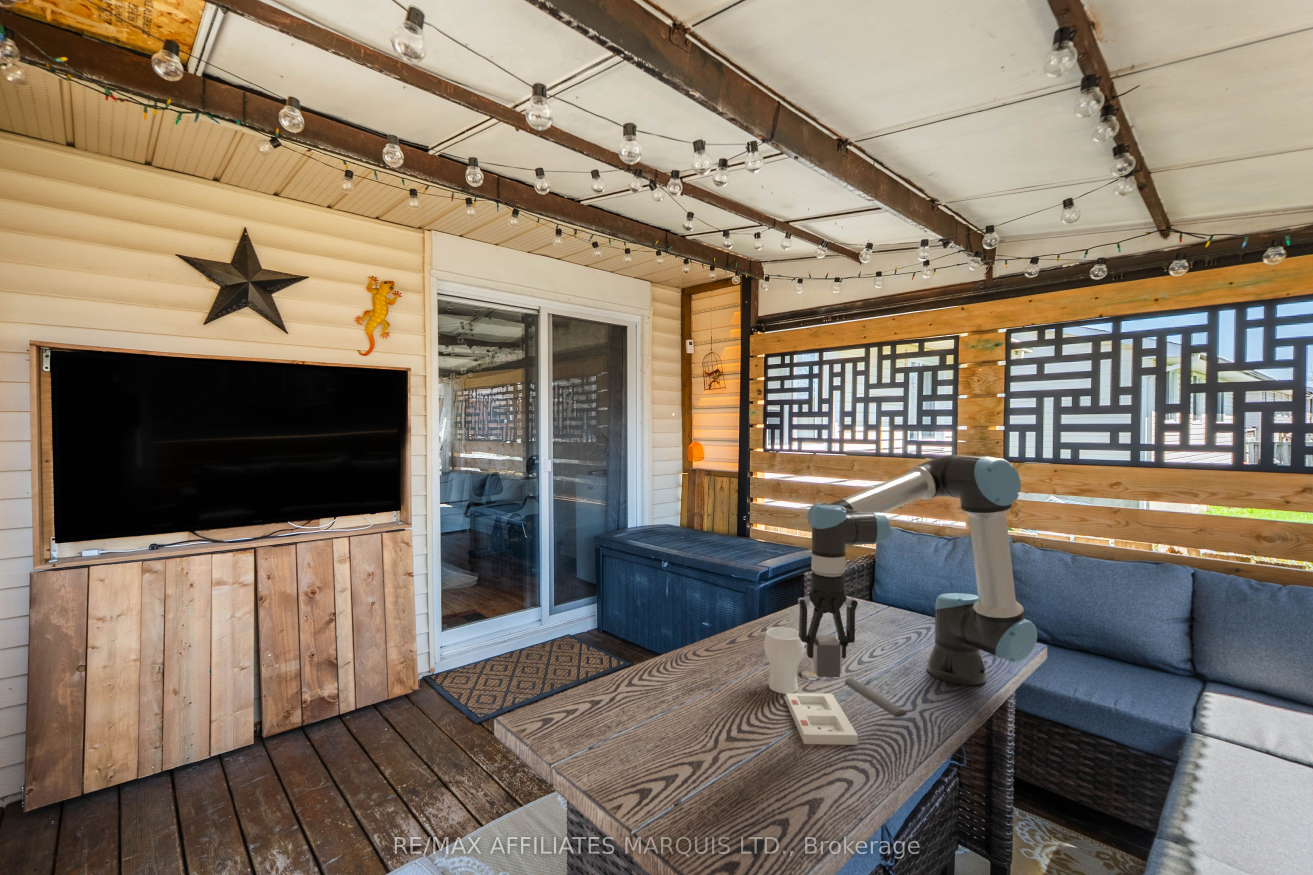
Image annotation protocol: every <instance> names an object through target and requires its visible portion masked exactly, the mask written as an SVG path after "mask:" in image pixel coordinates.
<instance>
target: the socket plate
mask: <svg viewBox="0 0 1313 875" xmlns="http://www.w3.org/2000/svg"><path fill="white" fill-rule="evenodd" d="M785 703H786V704H787V705H786V706H787V707H788V710H789V713H790V714H791V716H792V719H793V721H794V723H795V726H796V728H797V731H798V732H799V736H800V738H801V739H802V742H803V744H804V745H841V746H842V745H845V746H846V745H848V746H850V745H851V746H858V745H859V744H858V743H859V742H858V741H859V738H858V736H859V735H858V733H857V732H856V730H855V729H854V727H853V725H852V723H851V722H850V720H849V719H848V717H847V715H846V714H845V712H844V710H843V709H842V707H841V706H840V704H839V702H838V700H837V699H836V698H835V696H834V694H833V693H814V692H813V693H810V692H809V693H806V692H805V693H803V692H802V693H798V692H794V693H786V694H785Z"/></svg>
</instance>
